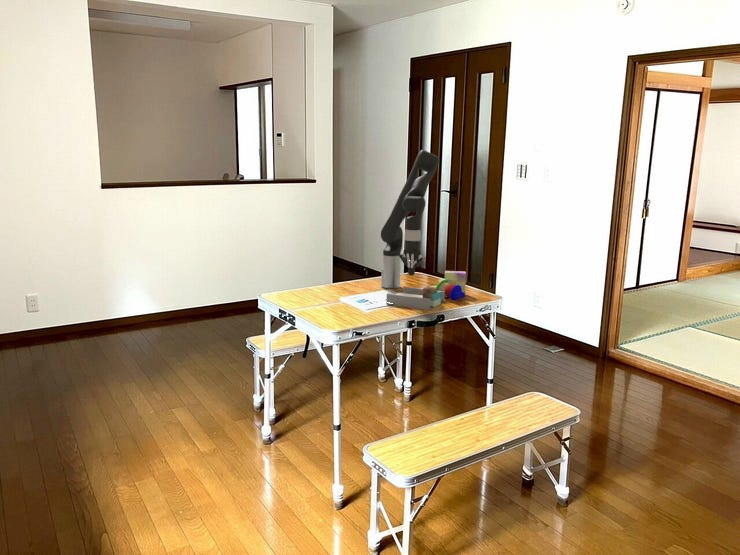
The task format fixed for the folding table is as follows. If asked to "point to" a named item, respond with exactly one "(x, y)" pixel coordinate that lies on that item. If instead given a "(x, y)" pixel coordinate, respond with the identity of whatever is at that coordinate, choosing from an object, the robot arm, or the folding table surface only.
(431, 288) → the walnut block
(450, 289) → the toy figure
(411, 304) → the trap track
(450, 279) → the box
